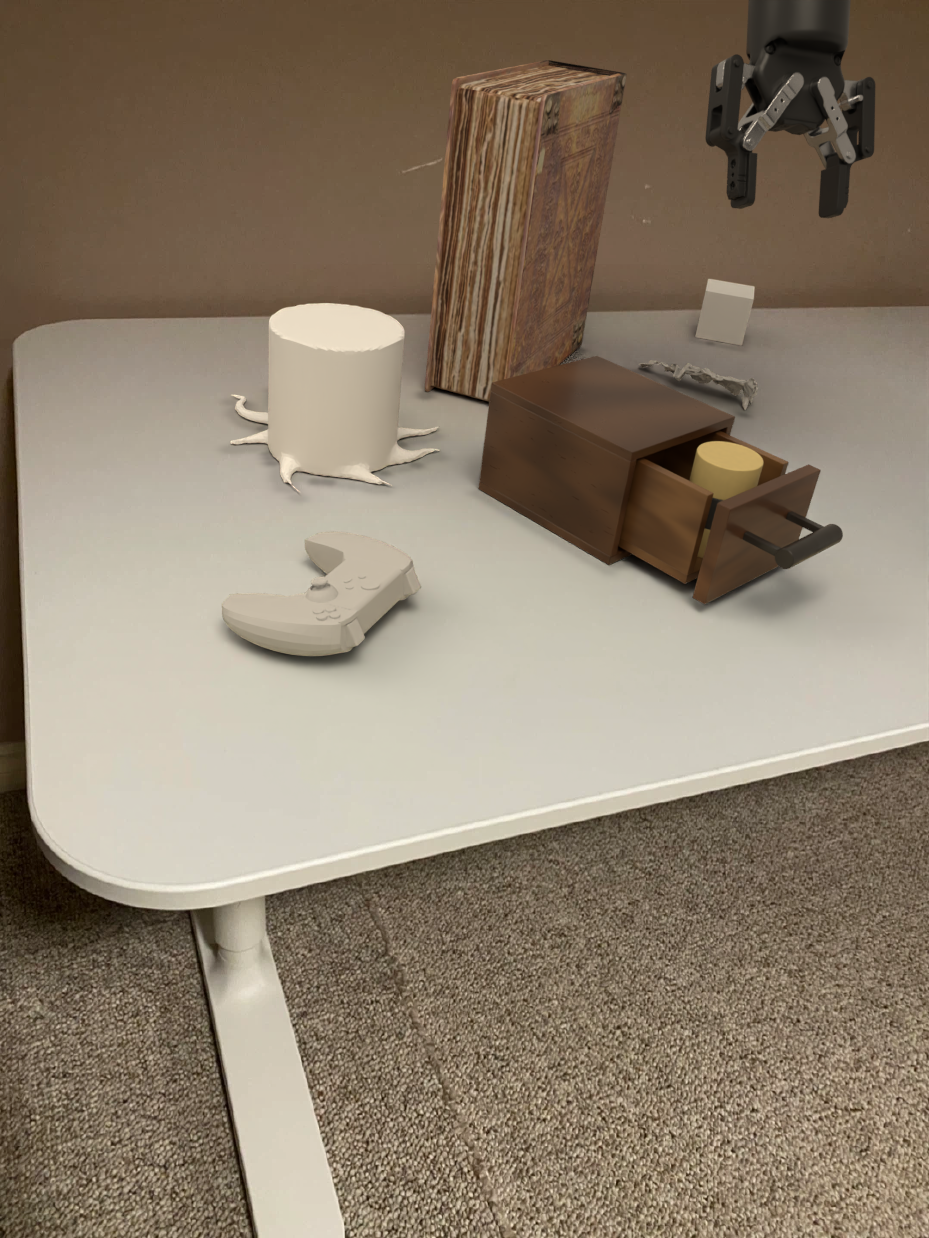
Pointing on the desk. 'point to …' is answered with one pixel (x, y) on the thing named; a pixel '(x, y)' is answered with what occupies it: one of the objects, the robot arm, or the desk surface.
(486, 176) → the book
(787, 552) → the drawer
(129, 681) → the desk surface
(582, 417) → the cabinet
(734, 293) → the beige rectangular block
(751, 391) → the grey figurine
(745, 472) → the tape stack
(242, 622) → the game controller
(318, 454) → the tree stump
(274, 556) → the desk surface
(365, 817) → the desk surface
